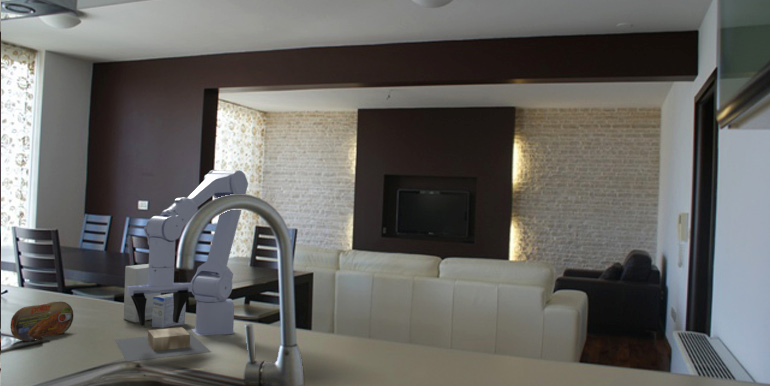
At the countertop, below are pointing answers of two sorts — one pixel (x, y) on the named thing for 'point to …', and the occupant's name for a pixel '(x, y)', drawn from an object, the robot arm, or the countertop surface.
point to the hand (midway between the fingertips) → (159, 323)
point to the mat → (142, 350)
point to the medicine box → (165, 311)
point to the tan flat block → (168, 338)
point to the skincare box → (133, 278)
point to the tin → (41, 320)
